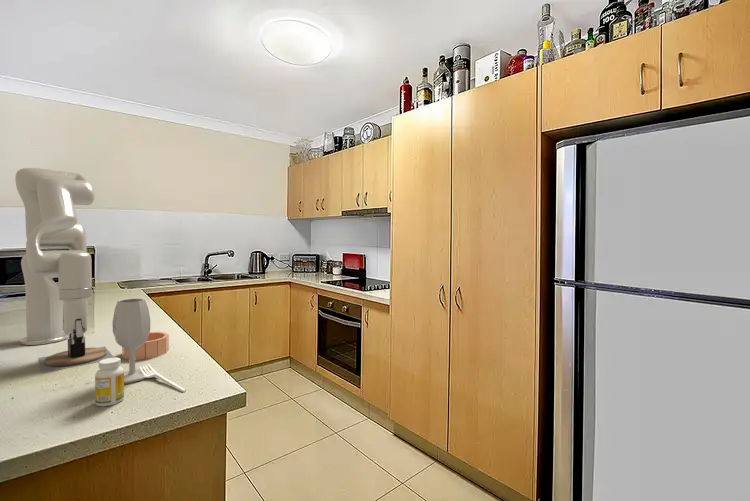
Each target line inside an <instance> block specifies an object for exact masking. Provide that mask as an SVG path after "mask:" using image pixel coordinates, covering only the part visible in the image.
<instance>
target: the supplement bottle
mask: <svg viewBox="0 0 750 501" xmlns="http://www.w3.org/2000/svg"><path fill="white" fill-rule="evenodd" d="M121 364H122V360H121V358H120V357H114V358H107V359H103V360H101V361H100V362H98V369H99V370H97V371H96V373H95V375H94V396H95V397H94V398H95V399H94V404H95V405H96V406H97V407H109V406H113V405H114V406H115V405H116V404H118V403H120V402H122V401H123V400H124V398H125V384H124V372H125V369H124V368H123V367H122V366H121Z"/></svg>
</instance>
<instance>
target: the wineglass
mask: <svg viewBox="0 0 750 501" xmlns="http://www.w3.org/2000/svg"><path fill="white" fill-rule="evenodd" d="M150 332H151V316H150V311H149V306H148V304H147V300H146V299H145V298H142V297H141V298H140V297H139V298H137V297H133V298H123V299H120V300H119V299H118V300H117V302H116V304H115V307H114V311H113V317H112V334H113V337H114V339H115V342H116V344H117V345H119V346H120V347H121V348H122V347H123V348H125V349H126V350H128V351H129V359H128V366H129V367H128V370H127V371H124V385H125V384H127V385H128V384H133V383H137V382H139V381H140V382H141V381H143V380H145V379H146V378H145V376H144V375H143V374H142V373H141V370H140V368H139V369H137V368H136V360H135V350H136V349H137V348H139V347H140V346H141V345H142V344H143V343H144V342H145V341H147V340H148V336H149V333H150ZM145 369H146V368H145ZM142 370H143V371H144V369H143V368H142ZM146 370H147V369H146ZM147 371H148V370H147ZM144 372H145V371H144ZM145 373H146V372H145ZM146 374H147V373H146ZM147 375H148V374H147Z"/></svg>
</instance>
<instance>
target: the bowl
mask: <svg viewBox="0 0 750 501" xmlns="http://www.w3.org/2000/svg"><path fill="white" fill-rule="evenodd" d="M169 335H170V334H168V333H167V332H166V331H165V332H161V331H150V333H149V336H148V340H147V341H145V342H144V343H143V344H142V345H141V346H140V347H139V348H137V349H136V350H135V361H136V360H138V361H140V360H147V359H152V358H157V357H161V356H163V355H165V354H167V353H168V352H169V350H170V336H169ZM121 348H122V349H121V356H122V357H123V359H124V360H129V351H128V350H126V349H125V348H123V347H122V346H121Z"/></svg>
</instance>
